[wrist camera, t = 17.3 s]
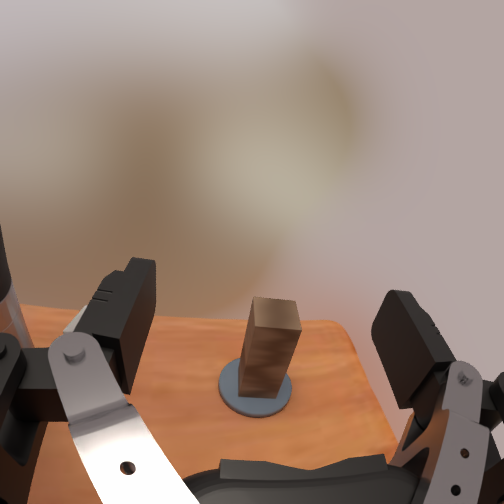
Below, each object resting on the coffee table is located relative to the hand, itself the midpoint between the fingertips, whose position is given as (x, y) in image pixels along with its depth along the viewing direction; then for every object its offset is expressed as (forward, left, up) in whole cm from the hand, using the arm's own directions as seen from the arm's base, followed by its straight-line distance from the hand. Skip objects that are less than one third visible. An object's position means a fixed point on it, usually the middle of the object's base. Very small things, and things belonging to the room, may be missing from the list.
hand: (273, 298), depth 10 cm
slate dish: (+10, +16, -30) cm, 36 cm away
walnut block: (+10, +16, -29) cm, 35 cm away
